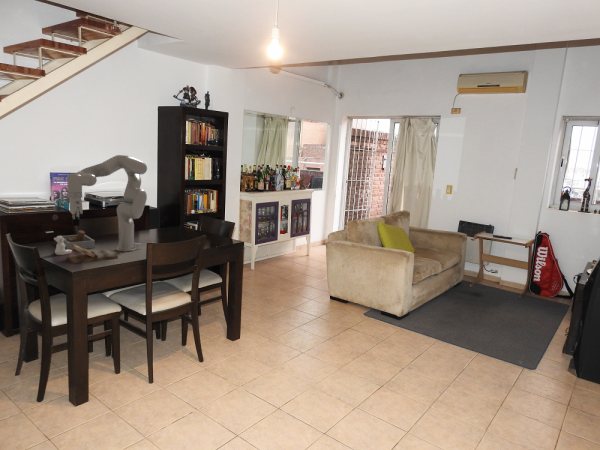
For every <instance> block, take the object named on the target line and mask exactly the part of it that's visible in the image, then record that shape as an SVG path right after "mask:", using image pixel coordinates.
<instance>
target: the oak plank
mask: <svg viewBox="0 0 600 450" xmlns="http://www.w3.org/2000/svg"><path fill="white" fill-rule="evenodd" d="M71 246H72V247H73V248H74V249H76V250H75V251H78V252H80V253H81V254H87V255H89V256H92V257H95V254H93V253H92V252H91V250H89V249H84V248H81V247H79V246H76V245H74V244H72V245H71Z"/></svg>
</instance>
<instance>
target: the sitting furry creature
mask: <svg viewBox="0 0 600 450" xmlns="http://www.w3.org/2000/svg"><path fill="white" fill-rule="evenodd" d="M62 236H63V235H57V236H56V237H53V240H54V241H55V242H56V247H55V250H54V253H55V255H57V256H64V255H68V254H69V255H70V254H72V253H73V250H69V249H66V248H65V246H66V245H65V244H64V243H63V241H64V239H63V237H62Z"/></svg>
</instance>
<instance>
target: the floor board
mask: <svg viewBox="0 0 600 450" xmlns="http://www.w3.org/2000/svg"><path fill="white" fill-rule="evenodd" d="M90 252H92V253H93V254H95V257H92V256H89V255H87V254H85V253H81V254H73V255H72V254H71V255H70V254H69V255H67V259H68V260H69V261H70V262H71V263H73V264H78V263H79V264H81V263H87V262H96V261H98V262H99V261H106V260H113V259H114V260H115V259H118V258H119V256H118V255H117V252H116V251H113V250H112V249H111V248H110V249H99V250H90Z"/></svg>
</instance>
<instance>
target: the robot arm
mask: <svg viewBox="0 0 600 450" xmlns="http://www.w3.org/2000/svg"><path fill="white" fill-rule="evenodd" d="M121 169H124V171H125V173H126V175H127V176H126V177H127V182H126V187H125V189H124V191H123V199H124V201H127V202H122V203H120V204H119V205H118V206H116V216H117V219H118V222H117V223H118V246H117V247H116V249H115V250H116V251H118V252H134V251H136V250H137V247H141V246H142V243H141V242H135V224H134V223H135V222H134V220H136V219H140V218H141V217H142V216H143V212H144V209H145V207H146V202H147V199H148V197H147V192H146V191H145V190H144V189H143V188H141V186H142V177H141V175H144V174H146V173H147V171H148V166H147V164H146V163H145V162H144V161H142V160H139V159H137V158H135V157H133V156H129V155H122V154H118V155H115V156H112V157H110V158H109V159H106V160H105V161H103V162H100V163H97V164H94V165H91V166H88V167H86V168H83V169H81V170H79V171H77V172H76V173H68V174H67V176H66V181H67V183H66V184H67V198H69V202H68V203H69V213H71V215H72V216H71V217H72V226H73V227H79V226H80V215H83V202H82V201H83V200H82V198H83V186H87V187H93V186H94V185H96V183H97V181H98V180H97V178H100V177H101V178H102V177H103V178H104V177H108V176H110V175H112V174H114V173H115V172H117V171H119V170H121ZM128 202H129V203H128Z"/></svg>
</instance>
